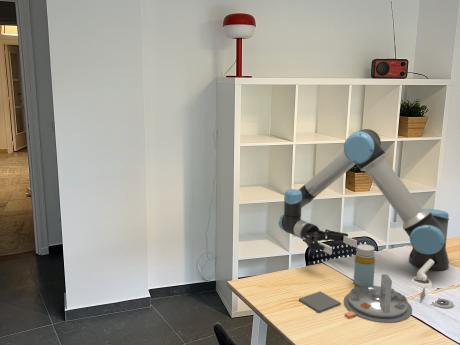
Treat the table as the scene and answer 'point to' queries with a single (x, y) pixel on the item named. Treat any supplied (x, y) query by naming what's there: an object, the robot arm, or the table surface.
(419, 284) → the hook
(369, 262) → the bottle
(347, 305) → the plate
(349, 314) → the pointer
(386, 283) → the round flange disc
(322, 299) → the pad
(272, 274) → the table surface
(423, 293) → the bracket
